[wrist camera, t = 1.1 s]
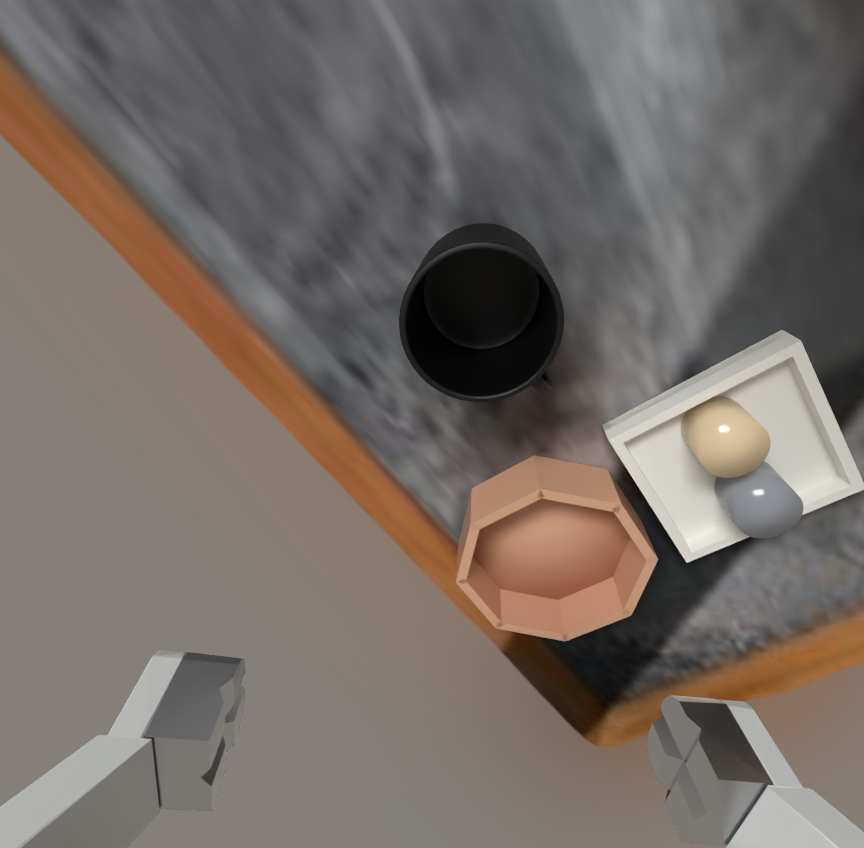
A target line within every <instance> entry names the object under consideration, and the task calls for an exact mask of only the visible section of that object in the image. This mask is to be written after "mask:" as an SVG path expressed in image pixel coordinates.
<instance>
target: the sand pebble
mask: <svg viewBox="0 0 864 848" xmlns="http://www.w3.org/2000/svg"><path fill="white" fill-rule="evenodd" d="M680 429H681V434H682V437H683V439H684V440H685V442H686V443H687V444H688V446H689V447H690V449H691V450H692V451H693V453H694V454H695V456H696V457H697V458H698V460H699V461H700V463H701V464H702V466H703V467H704V468H705V469H706V470H707V471H708V472H709V473H711V474H713V475H715V476H718V477H724V478H732V477H739V476H742V475H745V474H747V473H749V472H751V471H753V470H754V469H756V468H757V467H758V466H760V465H761V464H762V463H763V461H764V460H765V459H766V457H767V455H768V453H769V450H770V445H771V441H770V437H769V434H768V432H767V431H766V430H765V428H764V427H763V426H762V425H761V424H759V423H758V422H757V421H756V420H755V419H754V418H753V417H752V416H751V415H750V414H749V413H748V412H747V411H746V410H745V409H744V408H743V407H742V406H741V405H740V404H739V403H738V402H736V401H735V400H733V399H731V398H728V397H724V396H714V397H712V398H710V399H708V400H706V401H704V402H702V403H700V404H698V405H696V406H694V407H692V408H691V409H689V410H687V412H686V413H685V415H684V416H683V419H682V421H681V428H680Z"/></svg>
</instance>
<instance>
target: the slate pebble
mask: <svg viewBox="0 0 864 848" xmlns="http://www.w3.org/2000/svg"><path fill="white" fill-rule="evenodd" d="M714 491H715V494H716V496H717V498H718V499H719V501H720V502H721V504H722V505H723V506H724V508H725V509H726V511H727V512H728V514H729V515H730V517H731V518H732V519H733V521H734V522H735V524H736V525H737V527H738V528H739V530H740V531H741V532H743V533H744V534H746V535H747V536H750V537H753V538H762V539H764V538H772V537H776V536H779V535H781V534H784V533H785V532H787V531H789V530H790V529H792V528H793V527H794V526H795V525H796V524H797V523H798V521H799V520H800V518H801V516H802V513H803V502H802V500H801V498H800V497H799V496H798V494H797V493H796V492H795V491H794V490H793V489H792V488H791V487H790V486H789V485H788V484H787V483H786V482H785V481H784V479H783V478H782V477H781V476H780V475H779V474H778V473H777V472H776V471H775V470H774V469H773V468H772V467H771V465H769V464H768V463H766V462H764V461H763V463H762V464H761V465H760V466H758V467H757V468H756V469H754V470H753V471H751V472H749V473H747V474H745V475H742V476H739V477H732V478H724V477H717V479H716V481H715V485H714Z"/></svg>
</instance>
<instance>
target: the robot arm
mask: <svg viewBox="0 0 864 848" xmlns="http://www.w3.org/2000/svg"><path fill="white" fill-rule="evenodd" d="M244 674H245V660H244V659H241V658H232V657H223V656H215V655H206V654H198V653H189V652H179V651H169V650H159V651H158V652H157V653H156V654H155V655H154V656H153V657H152V658H151V660H150V661H149V663H148V665H147V667H146V669H145V670H144V672H143V674H142V675H141V677H140V679H139V681H138V683H137V685H136V686H135V688H134V690H133V691H132V693H131V695H130V697H129V698H128V700H127V702H126V704H125V706H124V707H123V709H122V711H121V713H120V715H119V716H118V718H117V720H116V721H115V723H114V725H113V727H112V729H111V730H110V732H109V734H108V735H98V736H96V737H95V738H94V739H92V740H91V741H90V742H88V743H87V744H85V745H84V746H83V747H81V748H80V749H79V750H77V751H76V752H75V753H73V754H72V755H70V756H69V757H68V758H66V759H65V760H64V761H62V762H61V763H60V764H58V765H57V766H56V767H54V768H53V769H51V770H50V771H49V772H47V773H46V774H44V775H43V776H42V777H41V778H39V779H38V780H36V781H35V782H34V783H32V784H31V785H29V786H28V787H27V788H25V789H24V790H23V791H21V792H20V793H19V794H17V795H16V796H14V797H13V798H12V799H10V800H9V801H8V802H6V803H5V804H4V805H2V806H1V807H0V848H127V847H128V846H129V845H130V844H131V843H132V842H133V841H134V840H135V839H136V838H137V837H138V835H139V834H140V833H141V832H142V831H143V830H144V829H145V828H146V827H147V826H148V825H149V824H150V823H151V822H152V821H153V820H154V819H155V817H156V816H157V815H158V814H159V813H160V810H159V809H169V810H197V811H212V810H213V807H214V804H215V801H216V798H217V795H218V792H219V789H220V786H221V783H222V780H223V777H224V774H225V772H226V752H227V751H228V750H229V749H230V748H231V747H233V746H234V744H235V741H236V738H237V735H238V731H239V728H240V724H241V720H242V715H243V711H244V702H245V689H244V687H243V686H242V685H241V682H242V679H243V677H244ZM660 709H661V711H662V713H663V717H661V718H660V719H658V720H656V721H655V722H653V723H652V725H651V728H650V730H649V733H648V739H647V751H648V756H649V761H650V764H651V767H652V770H653V772H654V775H655V777H656V778H657V779H658V780H659V781H660V782H661V783H662V784H663V785H664V786H665V787H666V788H667V789H668V791H667V796H666V800H665V803H666V805H667V808H668V810H669V813H670V815H671V818H672V820H673V823H674V825H675V828H676V830H677V833H678V835H679V838H680V840H681V842H690V843H702V844H711V845H721V846H727V847H726V848H864V832H862V831H861V830H860V829H859V828H858V827H857V826H855V825H854V824H853V823H852V822H850V821H849V820H848V819H847V818H846V817H844V816H843V815H842V814H841V813H840V812H838V811H837V810H836V809H835V808H834V807H832V806H831V805H830V804H829V803H828V802H826V801H825V800H824V799H823V798H822V797H820V796H819V795H818V794H817V793H816V792H814V791H813V790H812V789H811V788H803V787H802V786H801V784H800V782H799V781H798V779H797V778H796V776H795V774H794V773H793V771H792V770H791V768H790V766H789V765H788V763H787V762H786V760H785V759H784V757H783V755H782V754H781V752H780V751H779V749H778V748H777V746H776V744H775V743H774V741H773V740H772V738H771V737H770V735H769V733H768V732H767V730H766V729H765V727H764V725H763V724H762V722H761V721H760V719H759V718H758V716H757V715H756V713H755V711H754V710H753V708H752V707H751V706H749V705H748V704H747V703H746V702H742V701H731V700H717V699H714V698H700V697H687V696H673V695H670V696H668V697H667V698H665V699H664V701H663V703H662V705H661V707H660Z"/></svg>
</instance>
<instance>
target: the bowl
mask: <svg viewBox="0 0 864 848" xmlns="http://www.w3.org/2000/svg"><path fill="white" fill-rule="evenodd" d="M657 561H658V558H657V556H656V553H655V551H654V549H653V546H652V544H651V542H650V540H649V537H648V535H647V533H646V530H645V528H644V526H643V523H642V521H641V519H640V518H639V516H638V515H637V513H636V512H635V510H634V509H633V507H632V506H631V504H630V503H629V501H628V500H627V498H626V496H625V495H624V493H623V492H622V490H621V489H620V487H619V486H618V484H617V483H616V481H615V480H614V478H613V477H612V475H611V474H610V472H609V470H608V469H605V468H600V467H594V466H589V465H584V464H578V463H573V462H568V461H562V460H557V459H552V458H546V457H541V456H536V455H533V456H532V457H530V458H528V459H526V460H524V461H522V462H520V463H518V464H517V465H515V466H513V467H511V468H509V469H507V470H505V471H503V472H502V473H500V474H498V475H496V476H494V477H492V478H490V479H489V480H487V481H485V482H483V483H481V484H479V485H477V486H475V487H474V488H472V489H471V493H470V497H469V502H468V506H467V510H466V514H465V518H464V522H463V526H462V530H461V535H460V539H459V543H458V557H457V573H456V583H457V584H458V585H459V586H460V588H461V589H462V590H463V591H464V592H465V593H466V595H467V596H468V597H469V598H470V599H471V600H472V601H473V603H474V604H475V605H476V606H477V607H478V608H479V610H480V611H481V612H482V613H483V614H484V615H485V616H486V618H487V619H488V620H489V621H490V622H491V623H492V624H493V626H494V627H495V628H497V629H502V630H507V631H513V632H518V633H523V634H529V635H534V636H539V637H545V638H550V639H555V640H560V641H568V640H570V639H573V638H575V637H578V636H580V635H583V634H586V633H588V632H591V631H593V630H596V629H598V628H601V627H603V626H606V625H608V624H611V623H613V622H616V621H619V620H621V619H624V618H626V617H629V616H631V615H632V613H633V611H634V609H635V607H636V605H637V603H638V601H639V599H640V597H641V594H642V592H643V590H644V588H645V586H646V584H647V582H648V580H649V578H650V576H651V574H652V571H653V569H654V567H655V565H656V563H657Z"/></svg>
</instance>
